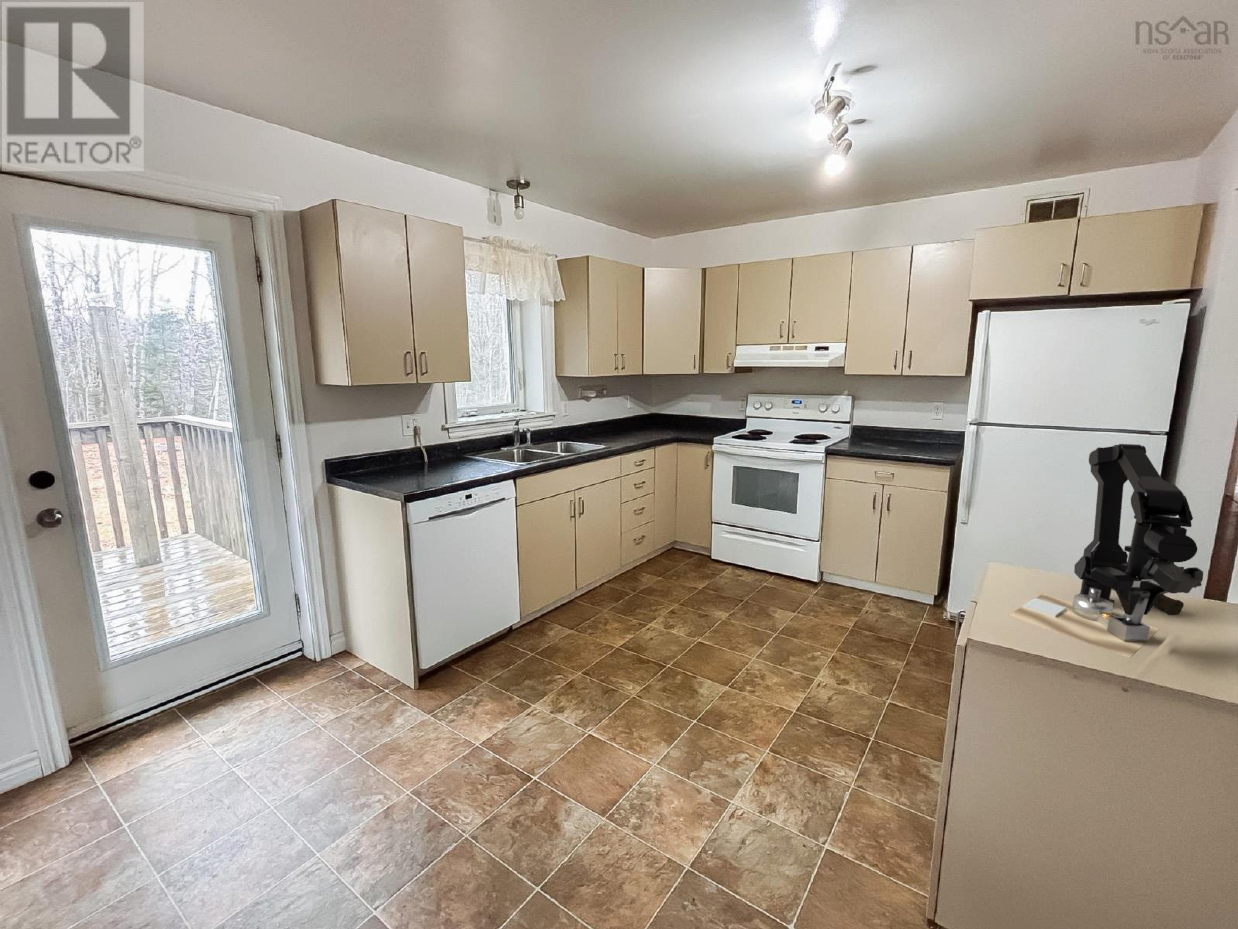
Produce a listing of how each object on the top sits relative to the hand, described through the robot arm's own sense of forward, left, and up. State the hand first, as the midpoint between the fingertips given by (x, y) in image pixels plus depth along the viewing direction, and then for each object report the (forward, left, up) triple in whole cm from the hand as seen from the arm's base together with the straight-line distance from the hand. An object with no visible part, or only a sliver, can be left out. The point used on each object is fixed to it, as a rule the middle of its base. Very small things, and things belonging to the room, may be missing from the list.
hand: (1135, 614), depth 117 cm
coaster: (-1, -16, -6) cm, 17 cm away
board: (0, -9, -7) cm, 11 cm away
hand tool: (-29, -6, -8) cm, 31 cm away
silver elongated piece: (-3, -5, -5) cm, 8 cm away
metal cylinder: (+1, 0, -4) cm, 4 cm away
